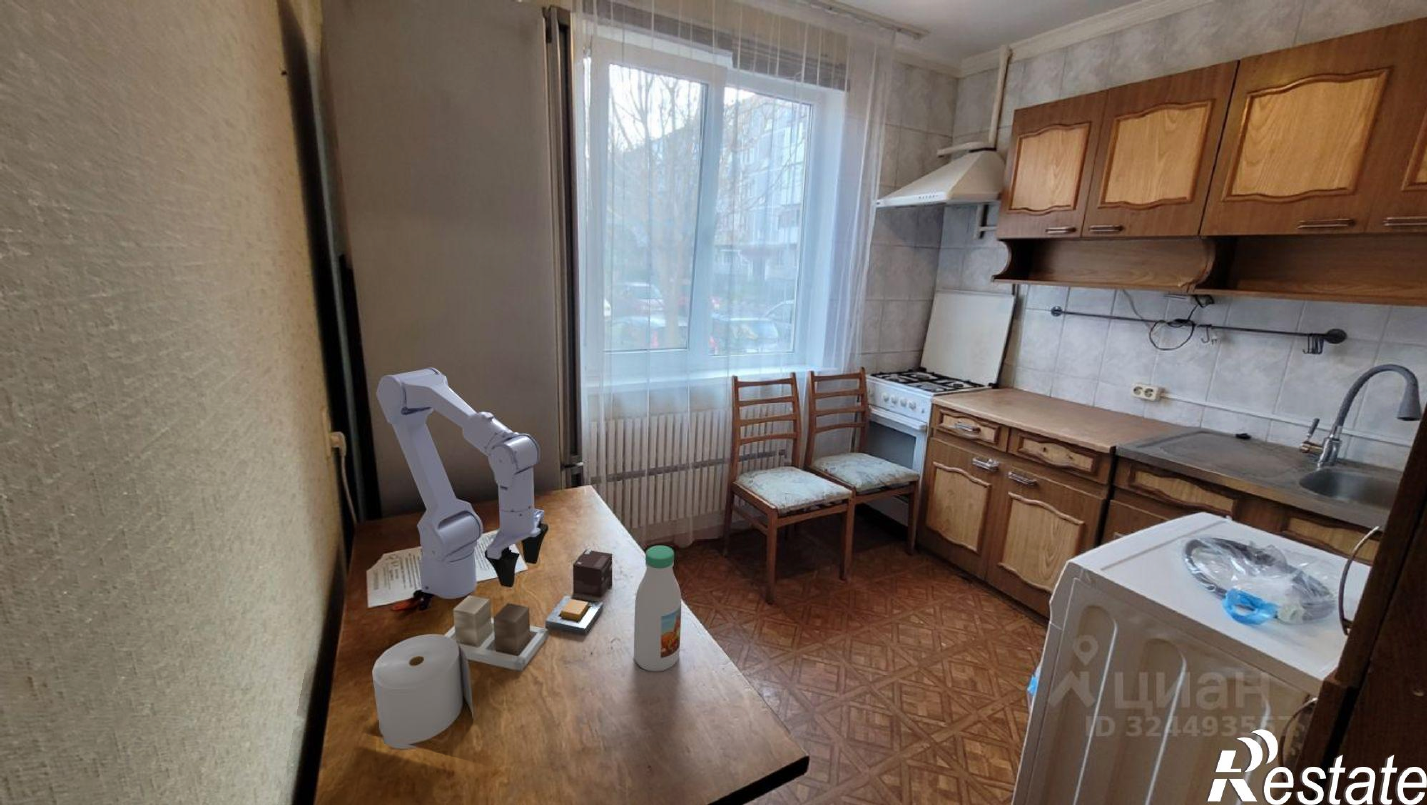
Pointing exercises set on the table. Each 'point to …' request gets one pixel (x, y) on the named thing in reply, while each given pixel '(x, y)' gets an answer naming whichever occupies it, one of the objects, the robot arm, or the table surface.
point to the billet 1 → (472, 621)
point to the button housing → (572, 625)
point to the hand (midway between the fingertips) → (519, 573)
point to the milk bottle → (657, 612)
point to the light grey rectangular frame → (492, 657)
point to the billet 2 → (512, 629)
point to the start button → (574, 610)
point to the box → (592, 573)
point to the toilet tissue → (420, 688)
